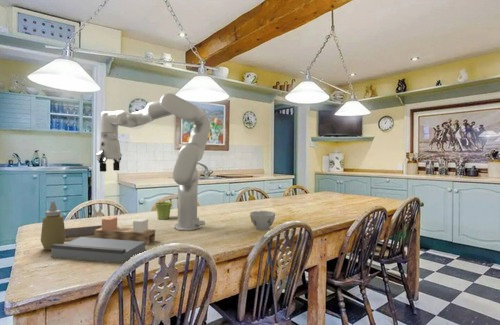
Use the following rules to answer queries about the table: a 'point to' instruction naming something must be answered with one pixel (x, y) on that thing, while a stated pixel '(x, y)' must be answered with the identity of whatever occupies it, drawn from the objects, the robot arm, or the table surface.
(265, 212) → the teacup
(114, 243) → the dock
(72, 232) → the hardcover book
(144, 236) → the wooden beam
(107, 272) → the table surface
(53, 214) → the squeeze bottle
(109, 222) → the salmon pink cube
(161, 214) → the plant pot
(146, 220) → the white cube
